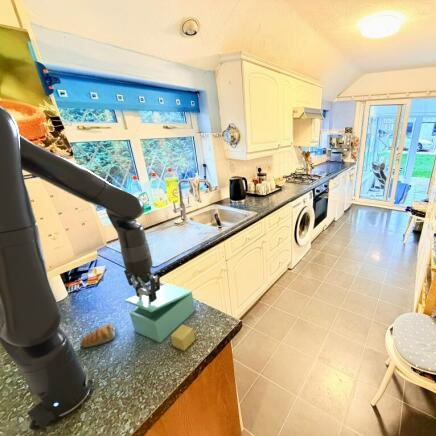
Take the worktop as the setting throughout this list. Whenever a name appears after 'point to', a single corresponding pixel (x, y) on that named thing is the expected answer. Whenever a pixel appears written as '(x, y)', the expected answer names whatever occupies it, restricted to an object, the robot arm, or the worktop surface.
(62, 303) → the worktop surface
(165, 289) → the lid
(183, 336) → the block
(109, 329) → the pastry
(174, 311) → the cool box
